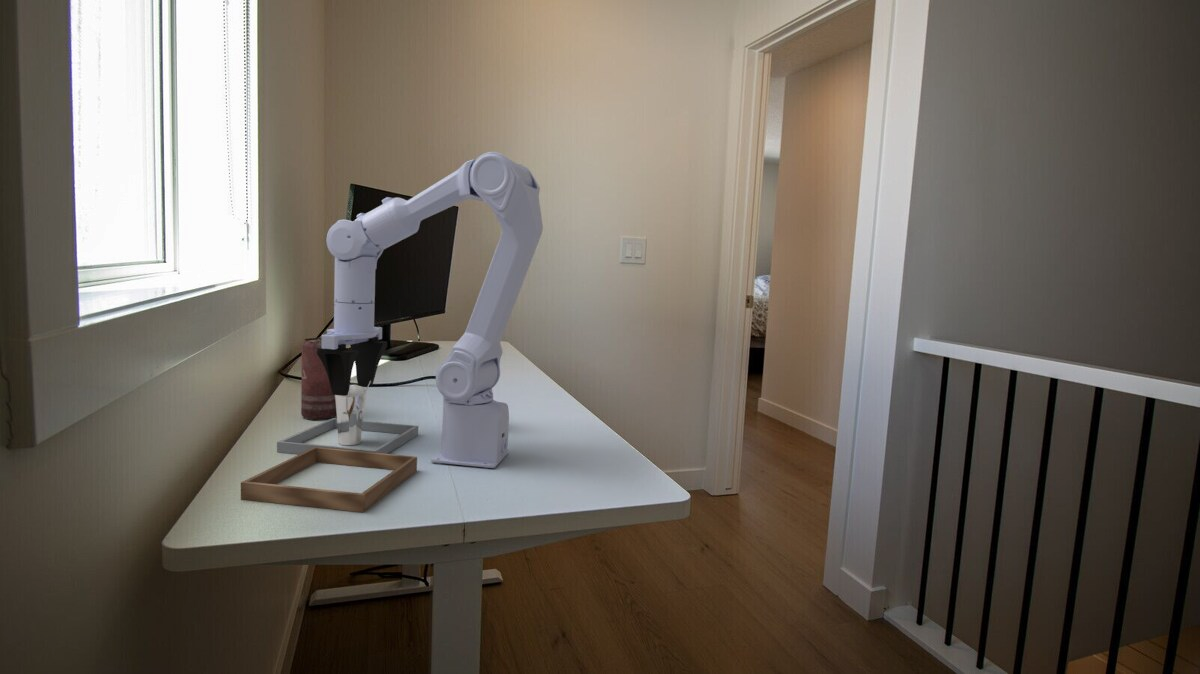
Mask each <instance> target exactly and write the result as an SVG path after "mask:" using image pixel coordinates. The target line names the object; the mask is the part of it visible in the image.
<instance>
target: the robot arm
mask: <svg viewBox="0 0 1200 674" xmlns="http://www.w3.org/2000/svg"><path fill="white" fill-rule="evenodd" d="M540 191H541V187H540V185H539V184H538V182H537V181H536V179H535V177H534V176H533V173H532V172H531V171H530V170H529V168H528V167H527V166H525V165H523V164H520V163H517V162H515V161H514V160H512V159H509V157H507V156H505V155H504V154H503V153H501V152H498V151H497V152H496V151H489V152H488V151H487V152H484V153H483V154H481V155H480V156H478V157H477V158H476V159H474V158H473V159H471V160H468V161H465V162H464V163H463V164H462V165H461V166H460V167H459V168H458V169H456V170H455V171H454V172H452V173H450V174H448V175H447V176H445V177H443V178H442V179H440V180H439V181H437V182H435V183H434V184H431V185H430V186H429V187H428V188H426V189H424V190H423V191H421V192H419V193H418V194H416V195H414V196H412V197H411V198H409V199H407V200H406V199H405V198H402V197H399V196H398V197H390V196H389V197H388V196H386V197H385V198H383V199H382V200H381V202H382V203H381V204H380V205H379V206H377V207H375V208H373V209H372V210H370V211H368V212H366V213H364V212H360V213H358V214H357V215H356V217H355V218H356V219H354V220H353V221H352V220H348V219H338V220H337V221H336V222H335V223H334V224H332V225H331V226H330V228H329V229H328V231H327V235H326V239H325V240H326V247H327V249H328V252H329V253H330V254H331V255H332V256H333V257H334V283H333V284H334V285H333V286H334V287H333V288H334V290H333V291H334V293H333V295H334V297H333V298H334V299H333V302H334V303H333V304H334V305H333V310H334V311H333V328H329V329H326V334H321V338H322V346H321V347H317V355H318V356H319V358H320V359H321V361H322V363H323V365H324V367H325V370H326V372H327V375H328V379H329V383H330V387H331V391H332V394H333V395H341V396H346V395H348V392H349V388H350V385H351V378H352V372H353V368H354V364H355V374H356V381H357V385H358V386H361V387H367V386H368V384H369V382H370V381H371V382H370V385H369V387H373V384H374V381H375V377H376V374H377V370H378V366H379V364H380V361H381V358H382V357H383V354H384V353H385V351H386V350H387V348H388V341H385V340H382V339H383V327H380V326H375V310H376V309H375V303H376V301H375V297H376V270H377V265H378V264H377V263H378V259H379V258H381V255H382V254H383V252H384V250H386V249H387V248H389V247H391V246H393V245H395V244H397V243H399V242H401V241H402V240H405V239H407V238H409V237H410V236H413V235H414V234H416V233H418V231H419V229H420V224H421V222H422V221H423V220H425V219H428V218H429V217H432V216H433V215H436V214H438V213H441V212H443V211H445V210H448V208H449V209H450V208H452V207H454V206H456V205H458V204H460V203H462V202H465V201H467V200H470V201H471V200H472V201H481V202H485V203H486V204H487V206H488V207H490V208H491V209H492V212H493V214H494V215H495V217H496V219H497V221H498V223H499V225H500V228H501V229H502V231H501V234H500V237H499V239H498V243H497V245H496V247H495V251H494V253H493V255H492V259H491V261H490V264H489V266H488V269H487V272H486V275H485V278H484V280H483V283H482V286H481V288H480V290H479V293H478V296H477V298H476V299H477V300H476V302H475V304H474V307H473V310H472V312H471V316H470V318H469V321H468V323H467V327H466V328H465V331H464V333H463V334H462V336H461V337H460V338H459V339H458V340H457V341H456V343H455V344H454V345H453V346H452V348H451V351H450V353H449V355H448V357H447V358H446V359H445V360H444V361H443V362H441V364H440V365H439V366H438V368H437V370H436V374H435V385H436V387H437V389H438V392H439V393H440V394H441V395H442V398H443V399H442V400H443V401H442V427H441V429H442V430H441V431H442V433H441V451H440V452H438V453H437V454H436V455H435V456H433V457H432V458H431V459H430V461H431V462H432V463H436V464H437V463H438V464H447V465H459V466H468V467H478V468H479V467H480V468H489V469H494V468H496V467H497V466H498V464H499V463H501V462H502V460H503V459H504V458H506V456H507V455H508V454H509V449H508V446H509V445H508V444H509V443H508V442H509V425H510V424H509V422H510V421H509V420H510V419H509V418H510V412H509V409H510V408H509V405H508V403H506V402H501V401H497V400H494V392H493V388H494V387H495V386H496V385H497V384H498V382H499V380H500V377H501V367H500V366H501V365H500V362H501V358H502V355H503V348H502V345H501V341H502V338H503V336H504V333H505V331H506V328H507V326H508V324H509V321H510V318H511V315H512V312H513V310H514V307H515V304H516V301H517V299H518V296H519V294H520V292H521V289H522V286H523V283H524V281H525V278H526V276H527V273H528V271H529V268H530V266H531V263H532V261H533V257H534V255H535V252H536V249H537V246H538V245H539V242H540V239H541V237H542V235H543V230H544V229H543V228H544V225H543V217H542V212H541V211H542V210H541V205H540V197H539V196H540ZM347 346H349V347H350V348H351V349H349V348H348V347H347Z"/></svg>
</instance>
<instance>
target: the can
mask: <svg viewBox="0 0 1200 674" xmlns="http://www.w3.org/2000/svg"><path fill="white" fill-rule="evenodd" d="M321 346H322V337H311V338H305V339H303V342H302V344H301V388H300V389H301V391H300V393H301V394H300V395H301V398H300V399H301V400H300V402H301V403H300V404H301V405H300V406H301V407H300V408H301V409H300V414H301V417H302V418H303V419H304V420H308V421H328V420H330V419H332V418H337V412H336V402H335V395H333V394H332V391H331V387H330V383H329V379H328V375H327V372H326V370H325V367H324V365H323V363H322V361H321V359H320V358H319V356H318V355H317V347H321Z"/></svg>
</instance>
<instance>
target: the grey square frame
mask: <svg viewBox="0 0 1200 674" xmlns="http://www.w3.org/2000/svg"><path fill="white" fill-rule="evenodd" d="M333 429H338V427H337V417H335V418H332V419H328V420H324V421H323V422H321V423H319V424H316V425H314V426H312V427H310V428H309V427H308V428H307V429H304V430H302V431H299V432H298V433H294V434H291V435H290V436H288V437H286V438H283V439H281V440H279V441H276V452H277V453H282V454H283V453H284V454H291V455H294V454H295V455H299V454H301V453H303V452H305V451H307V450H309V449H311V448H313V447H321V448H332V449H342V450H352V451H363V452H373V453H384V454H391V452H394V451H395V450H396V449H398V448H399V447H401V446H402V445H404V444H406V443H408V442H409V441H410V440H412V439H413V438H415V437H417V436H419V425H414V424H413V425H412V424H403V423H401V424H400V423H390V422H380V421H379V422H378V421H368V420H367V421H366V420H363V423H362V432H363V431H366V432H373V433H375V432H376V433H387V434H399V435H397V436H395V437H393V438H392V439H390V440H389V441H387V442H385V443H384V444H382V445H381V446H379V447H376V448H375V449H366V448H365V449H364V448H357V447H356V448H354V447H345V446H333V445H323V444H311V443H304V442H306V441H309V440H310V439H313V438H315V437H317V436H319V435H322V434H324V433H326V432H329V431H330V430H333Z"/></svg>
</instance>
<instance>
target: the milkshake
mask: <svg viewBox="0 0 1200 674" xmlns="http://www.w3.org/2000/svg"><path fill="white" fill-rule="evenodd" d="M370 382H371V381H370ZM370 382H369V384H368V386H366V388H364V386H358V384H350V388H349V392H348V395H346V396H341V395H335V402H336V412H337V417H336V418H337V427H338V428H337V438H338V439H337V440H338V441H337V442H338V444H339V445H341V446H356V445H358V444H361V441H362V433H363V430H362V423H363V421H364V413H365V412H364V411H365V406H366V399H367V398H366V396H367V391H368V389H369V387H370V386H369V385H370Z"/></svg>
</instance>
